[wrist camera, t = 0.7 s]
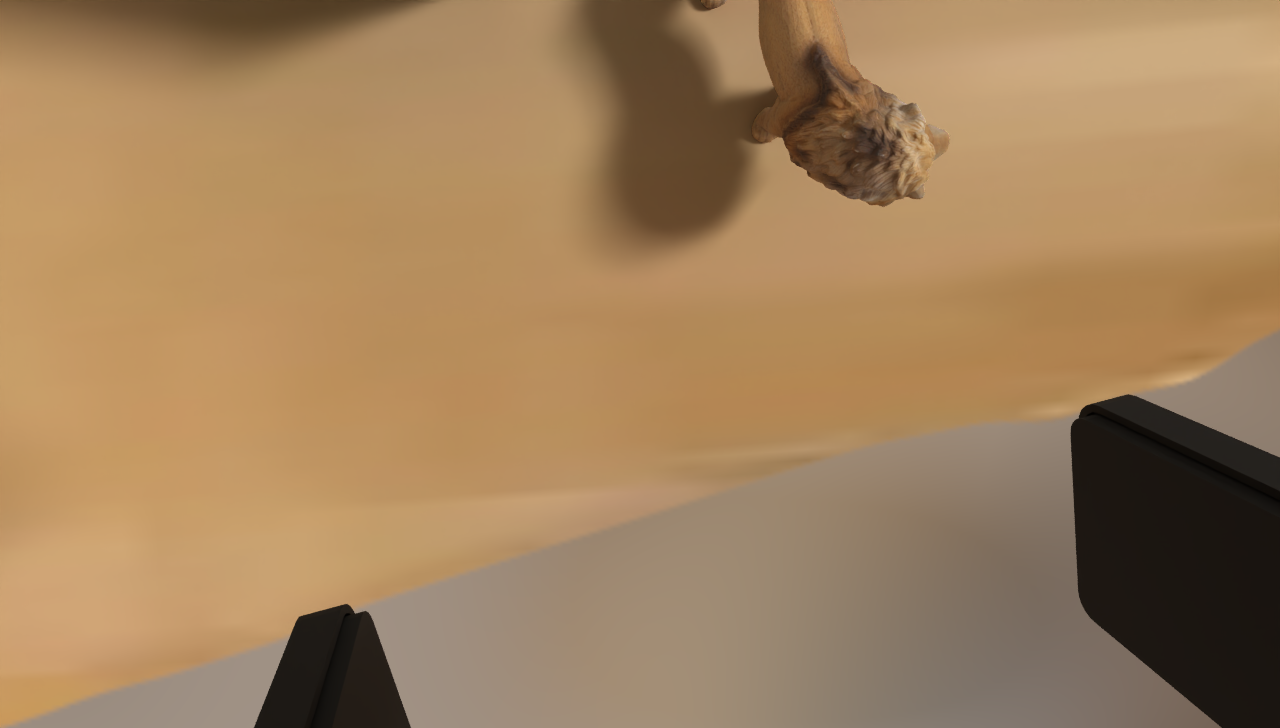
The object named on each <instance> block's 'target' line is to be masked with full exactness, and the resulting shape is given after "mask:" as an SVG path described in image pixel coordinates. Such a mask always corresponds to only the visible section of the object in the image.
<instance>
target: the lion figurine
mask: <svg viewBox="0 0 1280 728" xmlns="http://www.w3.org/2000/svg"><path fill="white" fill-rule="evenodd" d="M725 2H726V0H701V3H702V4H703V5H704V6H705V7H707V8H709V9H713V8H717V7H719V6H721V5H723V4H724V3H725ZM759 39H760V45H761V49H762V54H763V58H764V61H765V64H766V67H767V70H768V72H769V75H770V78H771V80H772V83H773V86H774V88H775V90H776V92H777V94H778V97H777V99H776V101H775V103H774V105H773V107H771V108H769V107H766V108H765V109H764V110H762V111H761V112H760V113H759V114H758V116H757V117H756V118H755V120H754V123H753V125H752V135H753V137H754V138H755V139H756V140H758V141H760V142H771V141H772V140H773V139H775V138H777V137H782V138H783V140H784V144H785V146H786V148H787V149H788V151H789V155H790V159H791V161H792V162H793V163H795V164H796V165H797V166H799V167H802V168H803V169H805V170H807V174H808V176H809V177H811V178H812V179H814V180H816V181H818V182H820V183H822V184H824V186H825V187H826V188H829V189H831V190H837V191H838V192H839V193H840V194H841V195H844V196H846V197H847V198H850V199H860V200H862V201H865V202H867V203H868V204H869V205H879V206H882V207H885V206H887V205H889V204H891V203H892V202H893V201H894V200H898V199H903V198H904V197H910V198H912V199H921V198H923V196H924V195H925V187H924V183H925V182H927V180H928V179H929V173H928V170H929V168H930V167H931V166H932V164H933V161H934V160H936V159H937V158H938V157H939V156H941V155H942V154H943V153H944V152H946V150H947V149H948V147H949V143H950V136H949V134H948V132H946V131H945V130H942V129H939V128H937V127H935V126H933V125H926V120H925V118H924V117H923V116H922V114H921V110H920V108H919V107H918V105H917V104H916V103H915V104H914V103H910V104H906V103H904V102H902V101H901V100H899V99H898V98H897V97H896V96H895V95H894V94H890V93H886V92H884V91H883V90H882V89H881V88H880V87H879V86H877V85H875V84H872V83H871V82H870V81H869V80H867V79H864V78H863V77H862V75H861V74H860V73H859V71H858V70H857V69H856V67H854V66H853V65H851V64H850V61H849V56H848V51H847V46H846V41H845V36H844V33H843V29H842V26H841V23H840V20H839V17H838V14H837V12H836V9H835V7H834V5H833V2H832V0H759Z"/></svg>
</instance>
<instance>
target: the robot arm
mask: <svg viewBox="0 0 1280 728" xmlns="http://www.w3.org/2000/svg"><path fill="white" fill-rule="evenodd" d="M1071 452H1072V472H1073V493H1074V513H1075V534H1076V555H1077V573H1078V574H1077V575H1078V592H1079V598H1080V600H1081V603H1082V605H1083V607H1084V609H1085V611H1086V613H1087V614H1088V615H1089V617H1090V618H1091V619H1092V620H1093V621H1094V622H1096V623H1097V624H1098V625H1099V626H1100V627H1101V628H1103V629H1104V630H1105V631H1106V632H1107V633H1109V634H1110V635H1111V636H1112V637H1114V638H1115V639H1116V640H1117V641H1118V642H1120V643H1121V644H1122V645H1123V646H1124V647H1125V648H1127V649H1128V650H1129V651H1130V652H1131V653H1133V654H1134V655H1135V656H1136V657H1138V658H1139V659H1140V660H1141V661H1142V662H1143V663H1145V664H1146V665H1147V666H1148V667H1149V668H1151V669H1152V670H1153V671H1154V672H1155V673H1157V674H1158V675H1159V676H1160V677H1162V678H1163V679H1164V680H1165V681H1166V682H1168V683H1169V684H1170V685H1171V686H1172V687H1174V688H1175V689H1176V690H1177V691H1178V692H1180V693H1181V694H1182V695H1183V696H1184V697H1186V698H1187V699H1188V700H1189V701H1190V702H1192V703H1193V704H1194V705H1195V706H1196V707H1198V708H1199V709H1200V710H1201V711H1202V712H1204V713H1205V714H1206V715H1208V717H1210V718H1211V719H1212V720H1213V721H1214V722H1216V723H1217V724H1218V725H1219V726H1221V727H1222V728H1280V457H1277V456H1275V455H1272V454H1270V453H1268V452H1265V451H1263V450H1261V449H1258V448H1256V447H1254V446H1251V445H1249V444H1247V443H1244V442H1242V441H1240V440H1237V439H1235V438H1233V437H1230V436H1228V435H1226V434H1223V433H1221V432H1219V431H1216V430H1214V429H1212V428H1209V427H1207V426H1204V425H1202V424H1200V423H1198V422H1195V421H1193V420H1190V419H1188V418H1186V417H1183V416H1181V415H1179V414H1176V413H1174V412H1172V411H1169V410H1167V409H1164V408H1162V407H1160V406H1158V405H1155V404H1153V403H1151V402H1148V401H1146V400H1144V399H1141V398H1139V397H1137V396H1133V395H1129V394H1128V395H1124V396H1120V397H1116V398H1112V399H1109V400H1105V401H1101V402H1097V403H1094V404H1090V405H1086V406H1085V407H1084V408H1083V409H1082V410H1081V412H1080V415H1079V419H1076V420H1075V421H1074V422H1073V424H1072V426H1071ZM254 728H411V727H410V724H409V721H408V718H407V716H406V713H405V710H404V707H403V704H402V701H401V699H400V696H399V693H398V690H397V687H396V684H395V682H394V679H393V676H392V673H391V670H390V668H389V665H388V662H387V659H386V656H385V653H384V651H383V648H382V645H381V643H380V639H379V637H378V634H377V631H376V628H375V625H374V622H373V620H372V618H371V616H370V614H369V613H368V612H366V611H364V612H360V613H356V614H355V613H354V611H353V609H352V608H351V606H349V605H348V604H344V605H341V606H337V607H333V608H329V609H326V610H322V611H318V612H314V613H311V614H307V615H303V616H300V617H299V618H298V619H297V621H296V623H295V626H294V628H293V631H292V633H291V636H290V638H289V641H288V643H287V646H286V648H285V651H284V653H283V656H282V658H281V661H280V663H279V666H278V669H277V671H276V674H275V676H274V679H273V681H272V684H271V686H270V689H269V691H268V694H267V696H266V699H265V701H264V704H263V706H262V709H261V712H260V714H259V716H258V719H257V722H256V724H255V727H254Z"/></svg>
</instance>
